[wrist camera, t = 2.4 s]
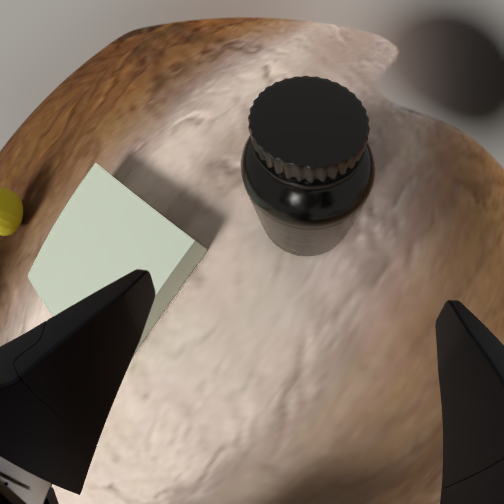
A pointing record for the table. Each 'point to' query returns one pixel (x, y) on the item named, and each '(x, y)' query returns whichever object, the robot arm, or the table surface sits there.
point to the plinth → (111, 247)
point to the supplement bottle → (307, 163)
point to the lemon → (9, 211)
